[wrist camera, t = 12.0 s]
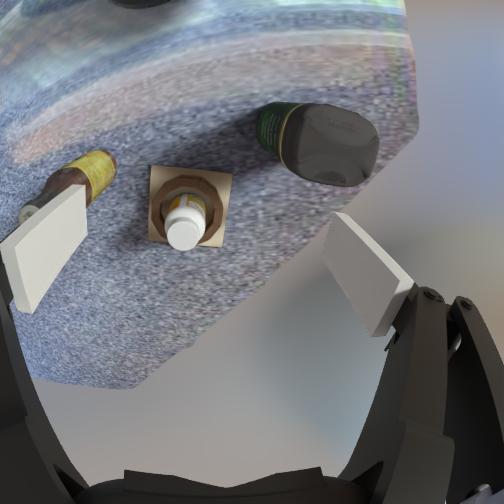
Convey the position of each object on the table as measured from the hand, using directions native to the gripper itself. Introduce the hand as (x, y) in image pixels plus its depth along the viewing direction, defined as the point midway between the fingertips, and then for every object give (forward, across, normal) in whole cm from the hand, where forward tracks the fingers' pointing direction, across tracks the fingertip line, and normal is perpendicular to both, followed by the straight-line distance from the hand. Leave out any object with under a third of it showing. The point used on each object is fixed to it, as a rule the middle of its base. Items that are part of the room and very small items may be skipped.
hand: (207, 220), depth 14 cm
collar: (+29, -2, -10) cm, 30 cm away
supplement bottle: (+28, -2, -10) cm, 30 cm away
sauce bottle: (+29, -16, -5) cm, 34 cm away
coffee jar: (+29, +11, +4) cm, 31 cm away
